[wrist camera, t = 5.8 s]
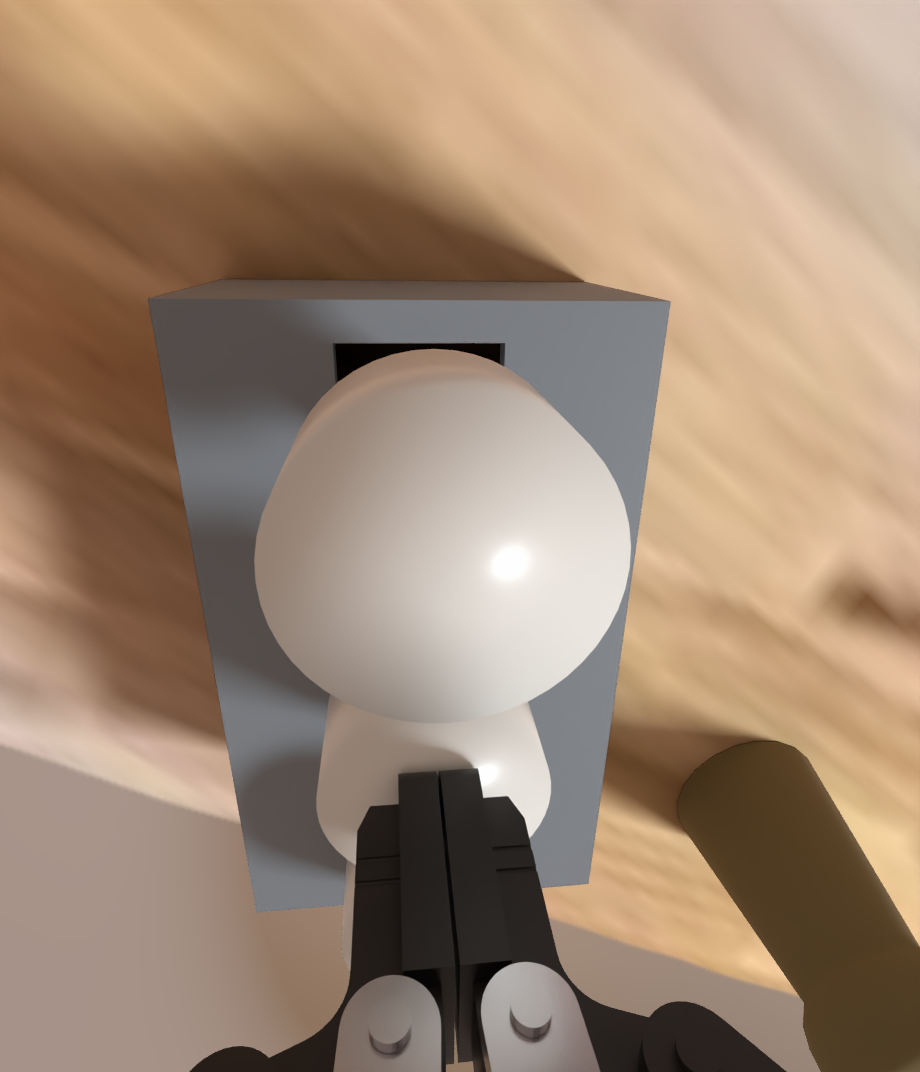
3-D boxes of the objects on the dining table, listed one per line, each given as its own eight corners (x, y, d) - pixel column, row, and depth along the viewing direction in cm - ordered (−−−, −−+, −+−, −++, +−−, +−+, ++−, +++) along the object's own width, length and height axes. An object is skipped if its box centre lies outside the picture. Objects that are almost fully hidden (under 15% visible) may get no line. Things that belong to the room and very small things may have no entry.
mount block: (222, 279, 17) (147, 298, 12) (586, 281, 18) (670, 301, 13) (285, 762, 24) (256, 912, 19) (545, 745, 25) (588, 883, 20)
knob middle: (339, 518, 19) (305, 714, 11) (490, 513, 19) (560, 700, 11) (348, 645, 21) (324, 890, 13) (485, 639, 21) (543, 872, 13)
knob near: (314, 305, 14) (229, 388, 6) (513, 307, 15) (655, 385, 7) (329, 494, 16) (275, 732, 8) (505, 490, 16) (609, 713, 9)
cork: (820, 818, 29) (1047, 1122, 19) (691, 862, 29) (847, 1183, 19) (805, 721, 26) (1058, 1014, 16) (663, 770, 27) (828, 1087, 17)
